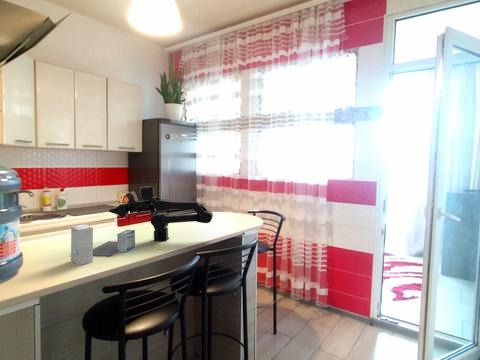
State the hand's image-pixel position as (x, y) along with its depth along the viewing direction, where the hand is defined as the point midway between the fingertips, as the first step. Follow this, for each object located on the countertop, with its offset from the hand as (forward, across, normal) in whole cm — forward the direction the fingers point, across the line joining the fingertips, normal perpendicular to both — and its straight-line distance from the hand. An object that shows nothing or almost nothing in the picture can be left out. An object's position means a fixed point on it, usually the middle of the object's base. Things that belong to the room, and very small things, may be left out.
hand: (113, 209), depth 151 cm
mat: (-3, +17, +16) cm, 24 cm away
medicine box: (-12, +17, +18) cm, 27 cm away
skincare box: (0, +33, +16) cm, 37 cm away
